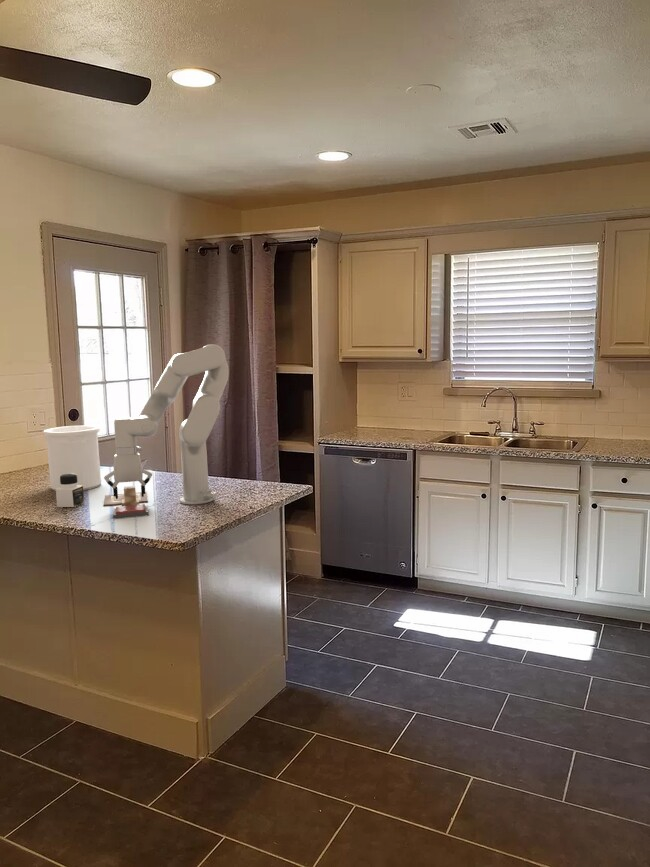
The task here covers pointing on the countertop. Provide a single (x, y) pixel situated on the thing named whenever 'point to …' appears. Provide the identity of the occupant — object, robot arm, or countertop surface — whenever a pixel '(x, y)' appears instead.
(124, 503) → the stamp
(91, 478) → the bucket
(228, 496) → the countertop surface
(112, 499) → the marked board
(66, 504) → the medicine bottle
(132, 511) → the ink pad
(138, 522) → the countertop surface
